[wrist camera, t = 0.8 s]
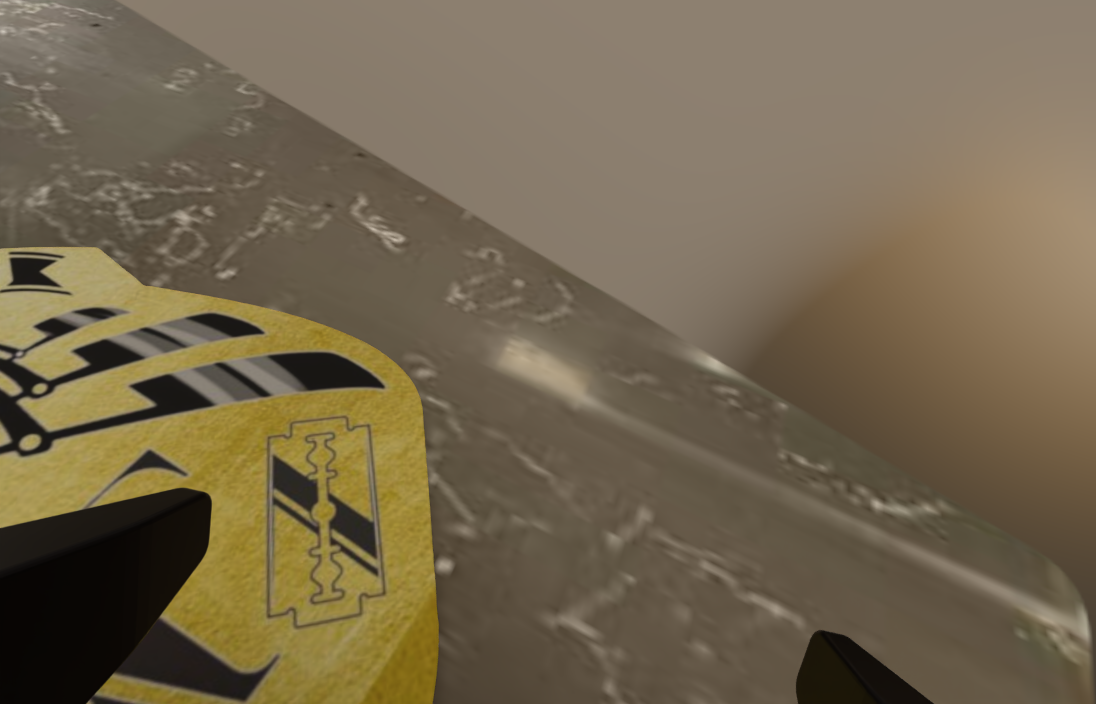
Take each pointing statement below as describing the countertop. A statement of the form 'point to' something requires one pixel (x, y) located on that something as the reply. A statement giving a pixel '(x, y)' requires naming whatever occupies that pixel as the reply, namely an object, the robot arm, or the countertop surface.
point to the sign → (229, 479)
